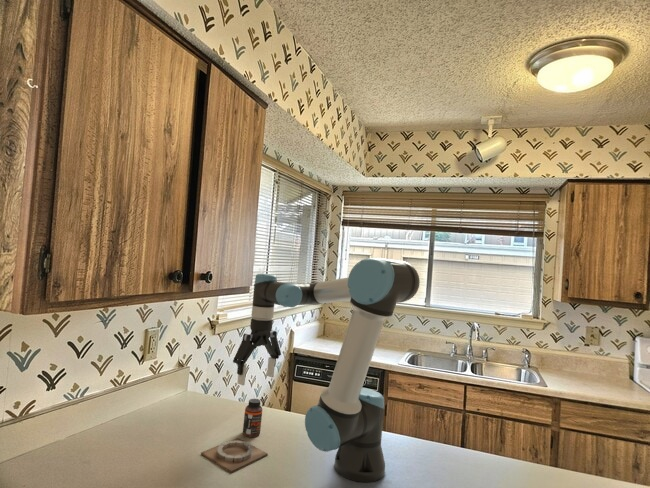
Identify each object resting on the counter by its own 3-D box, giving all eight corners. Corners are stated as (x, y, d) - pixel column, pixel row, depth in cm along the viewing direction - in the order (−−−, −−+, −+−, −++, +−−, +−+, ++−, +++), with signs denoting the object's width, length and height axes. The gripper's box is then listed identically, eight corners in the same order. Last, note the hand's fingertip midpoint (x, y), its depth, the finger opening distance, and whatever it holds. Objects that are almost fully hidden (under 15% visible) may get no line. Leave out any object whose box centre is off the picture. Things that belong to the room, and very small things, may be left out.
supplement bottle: (250, 439, 126) (253, 405, 127) (238, 433, 130) (242, 399, 130) (263, 434, 131) (266, 400, 131) (252, 428, 134) (255, 395, 135)
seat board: (267, 455, 117) (267, 453, 117) (231, 473, 106) (231, 471, 106) (237, 439, 125) (237, 437, 125) (201, 454, 114) (201, 452, 114)
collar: (259, 453, 117) (260, 449, 117) (232, 466, 108) (232, 462, 108) (237, 441, 123) (237, 437, 123) (209, 452, 115) (210, 448, 115)
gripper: (279, 314, 144) (273, 371, 143) (226, 319, 124) (219, 384, 123) (293, 317, 140) (288, 376, 139) (241, 323, 120) (234, 391, 119)
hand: (256, 380), depth 131 cm, fingers open, 13 cm apart
